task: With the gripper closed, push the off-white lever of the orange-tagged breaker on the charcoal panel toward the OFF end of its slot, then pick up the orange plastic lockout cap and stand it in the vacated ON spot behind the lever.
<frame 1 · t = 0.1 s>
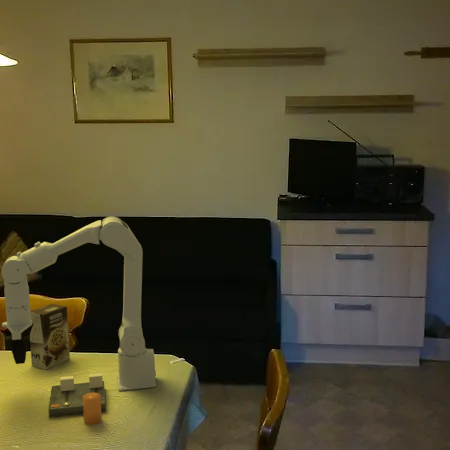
hand: (22, 357, 153), 10 cm above the table, tool pointing down, fingers open, 7 cm apart
breaker panel: (78, 402, 150), on the table
coffee box: (51, 363, 175), on the table
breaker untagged: (95, 380, 154), point 4 cm above the table, slide at 0.0 cm
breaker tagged: (67, 383, 152), point 4 cm above the table, slide at 0.0 cm
lockout cap: (92, 420, 141), on the table
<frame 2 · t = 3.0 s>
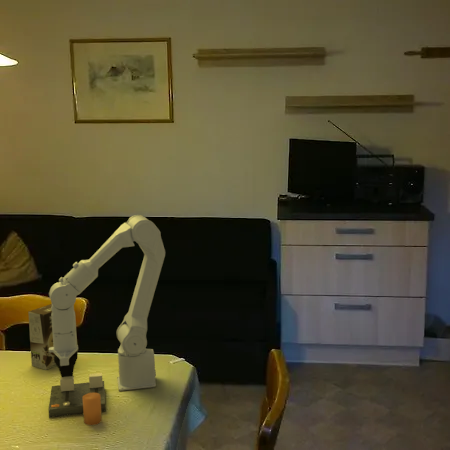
hand: (67, 381, 154), 3 cm above the table, tool pointing down, fingers closed
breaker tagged: (67, 383, 152), point 4 cm above the table, slide at 0.2 cm, touching gripper
everything else where it was.
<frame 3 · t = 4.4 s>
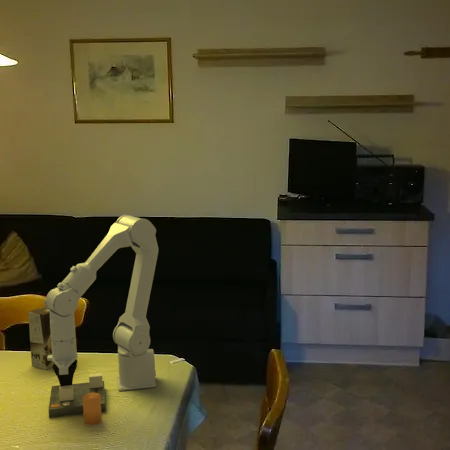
hand: (66, 390, 149), 3 cm above the table, tool pointing down, fingers closed
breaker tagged: (66, 393, 147), point 4 cm above the table, slide at 5.6 cm, touching gripper
everything else where it was.
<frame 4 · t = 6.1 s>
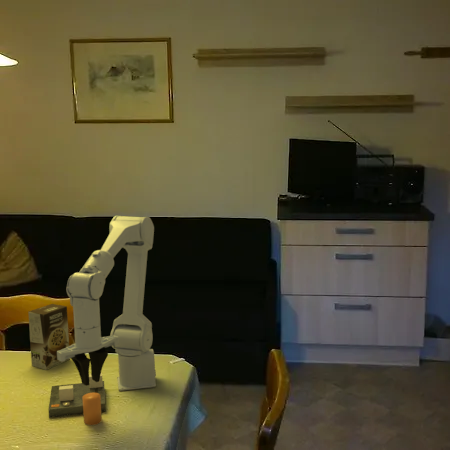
hand: (90, 382, 139), 9 cm above the table, tool pointing down, fingers closed
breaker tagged: (66, 393, 147), point 4 cm above the table, slide at 5.6 cm
everything else where it was.
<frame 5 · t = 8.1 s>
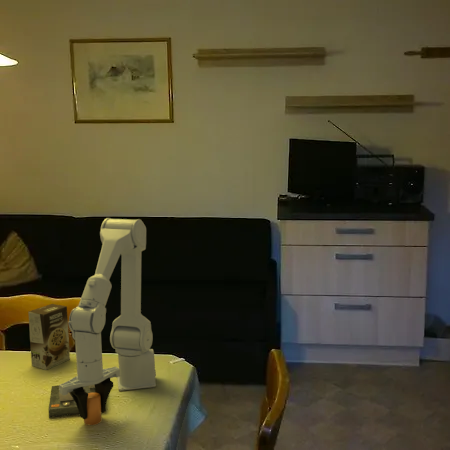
hand: (92, 414, 140), 2 cm above the table, tool pointing down, fingers closed on lockout cap, 4 cm apart
lockout cap: (92, 420, 141), on the table, touching gripper
everything else where it was.
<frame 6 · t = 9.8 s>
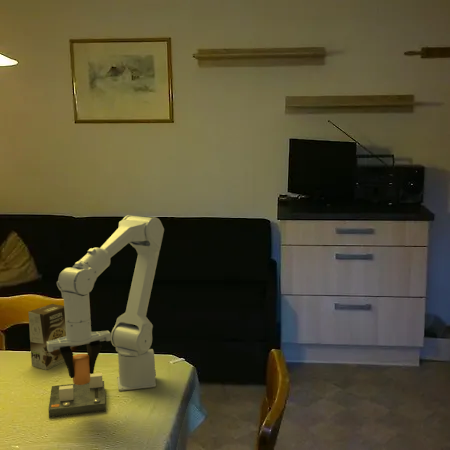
hand: (81, 374, 144), 9 cm above the table, tool pointing down, fingers closed on lockout cap, 4 cm apart
lockout cap: (81, 381, 144), point 8 cm above the table, touching gripper
everything else where it was.
when the fingers open (5 cm above the table, at t = 11.6 s): lockout cap drops 1 cm, resting on breaker panel.
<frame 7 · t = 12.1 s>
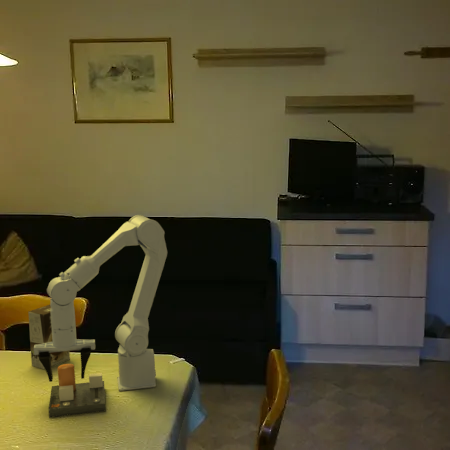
hand: (66, 378, 152), 5 cm above the table, tool pointing down, fingers open, 7 cm apart
lockout cap: (67, 389, 152), point 2 cm above the table, touching breaker panel
everything else where it was.
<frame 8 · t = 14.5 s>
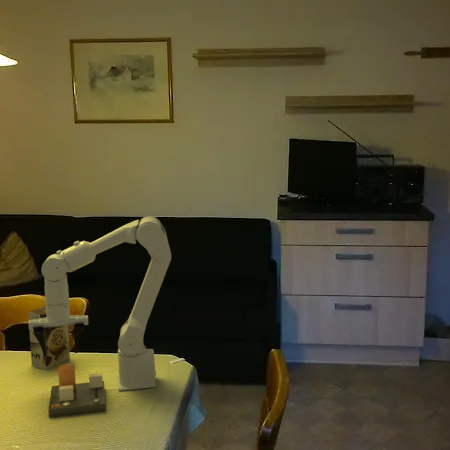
hand: (60, 353, 157), 9 cm above the table, tool pointing down, fingers open, 7 cm apart
nothing on the table moved.
at the end: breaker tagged slide at 5.6 cm; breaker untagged slide at 0.0 cm; lockout cap 0.2 cm from the target spot, point 2.0 cm above the table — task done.
